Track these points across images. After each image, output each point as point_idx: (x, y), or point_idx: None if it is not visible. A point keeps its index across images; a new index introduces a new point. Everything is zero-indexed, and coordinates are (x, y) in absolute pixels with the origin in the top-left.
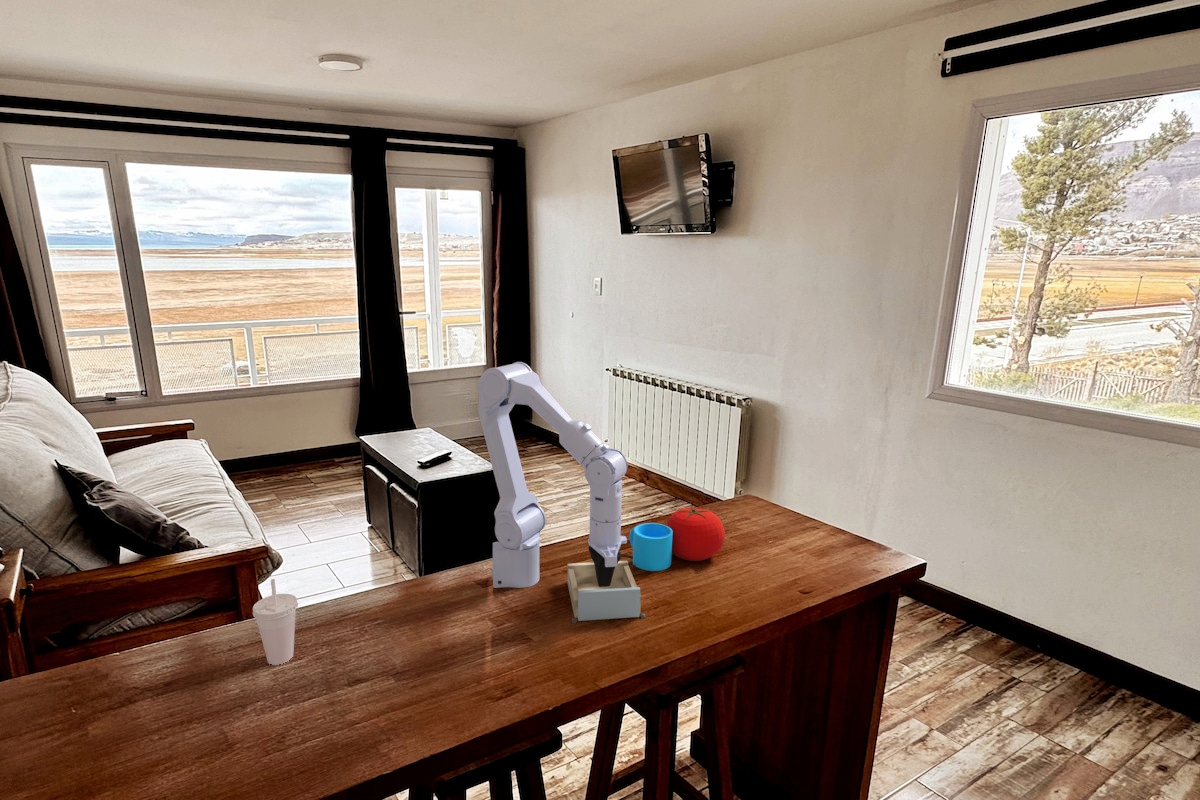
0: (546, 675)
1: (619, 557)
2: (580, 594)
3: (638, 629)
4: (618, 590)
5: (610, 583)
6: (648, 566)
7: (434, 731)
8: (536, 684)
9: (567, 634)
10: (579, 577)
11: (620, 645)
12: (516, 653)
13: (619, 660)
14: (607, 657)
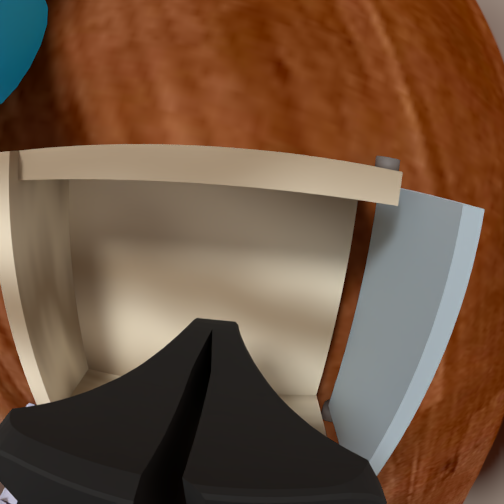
0: (454, 433)
1: (380, 488)
2: None
3: None
4: (444, 349)
5: (235, 326)
6: (11, 52)
7: (451, 497)
8: (461, 441)
9: None
10: (72, 364)
11: None
12: None
13: (499, 302)
14: (480, 329)
